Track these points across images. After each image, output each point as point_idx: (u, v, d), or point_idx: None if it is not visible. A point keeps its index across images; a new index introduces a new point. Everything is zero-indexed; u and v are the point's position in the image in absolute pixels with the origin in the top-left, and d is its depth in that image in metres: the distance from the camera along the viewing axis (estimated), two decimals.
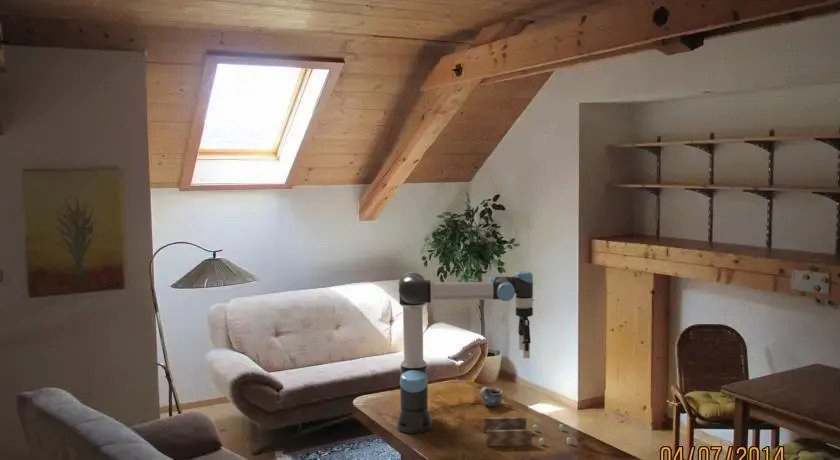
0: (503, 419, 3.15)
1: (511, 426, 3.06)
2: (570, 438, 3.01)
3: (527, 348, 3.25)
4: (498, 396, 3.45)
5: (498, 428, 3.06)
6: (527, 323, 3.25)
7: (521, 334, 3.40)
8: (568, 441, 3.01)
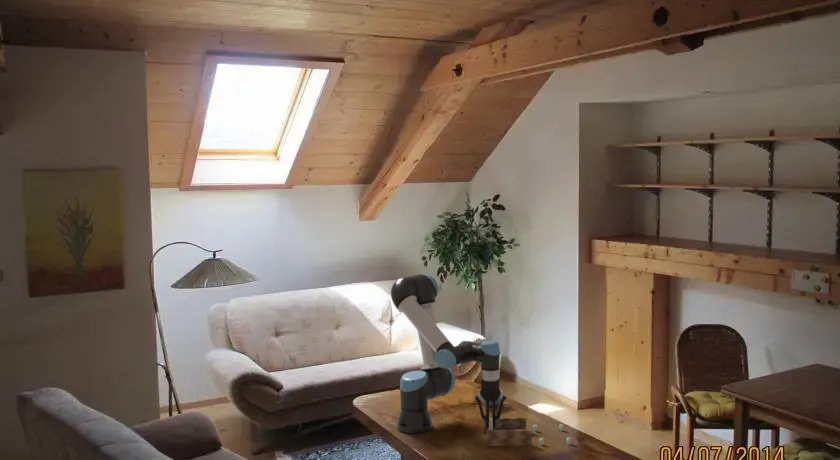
0: (503, 419, 3.15)
1: (511, 425, 3.06)
2: (570, 438, 3.01)
3: (486, 424, 3.08)
4: None
5: (498, 428, 3.06)
6: (476, 399, 3.07)
7: (492, 417, 3.08)
8: (568, 441, 3.01)
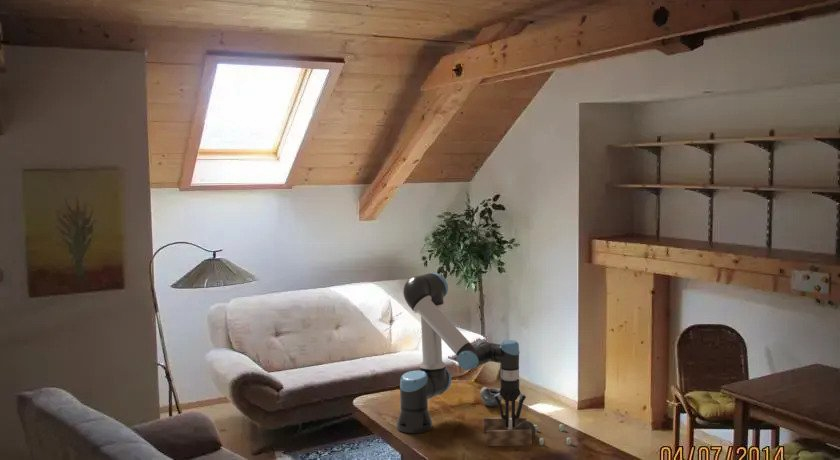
0: (503, 419, 3.15)
1: (531, 425, 3.07)
2: (570, 438, 3.01)
3: (505, 424, 3.08)
4: None
5: (518, 427, 3.06)
6: None
7: None
8: (568, 441, 3.01)
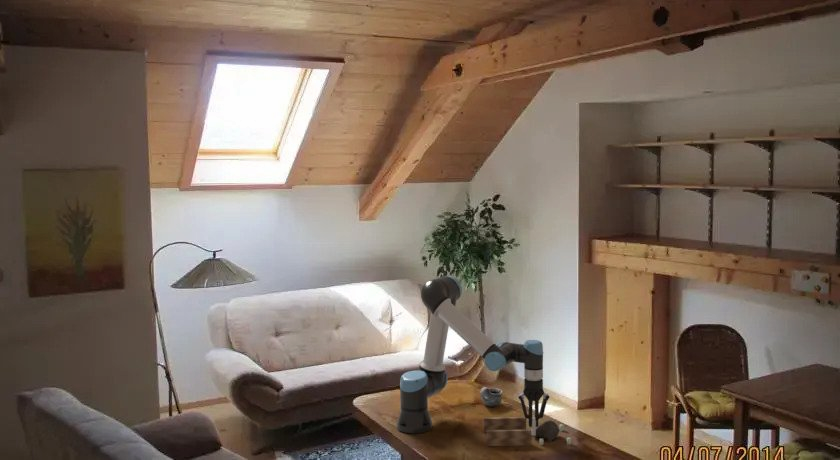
0: (503, 419, 3.15)
1: (554, 425, 3.07)
2: (570, 438, 3.01)
3: (529, 423, 3.08)
4: (498, 396, 3.45)
5: (542, 427, 3.07)
6: (519, 398, 3.07)
7: (535, 416, 3.08)
8: (568, 441, 3.01)
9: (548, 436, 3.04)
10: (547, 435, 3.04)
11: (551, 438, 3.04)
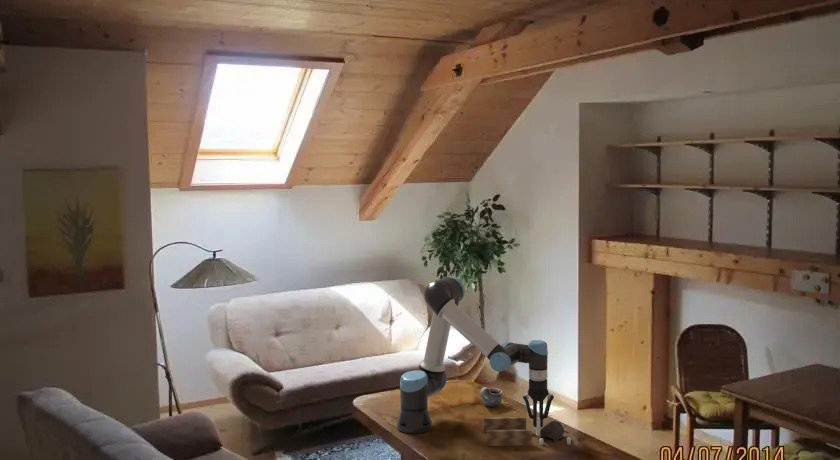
0: (503, 419, 3.15)
1: (559, 425, 3.07)
2: (570, 438, 3.01)
3: (533, 424, 3.08)
4: (498, 396, 3.45)
5: (547, 427, 3.07)
6: (524, 399, 3.07)
7: (539, 416, 3.08)
8: (568, 441, 3.01)
9: (553, 436, 3.04)
10: (552, 435, 3.04)
11: (556, 438, 3.04)
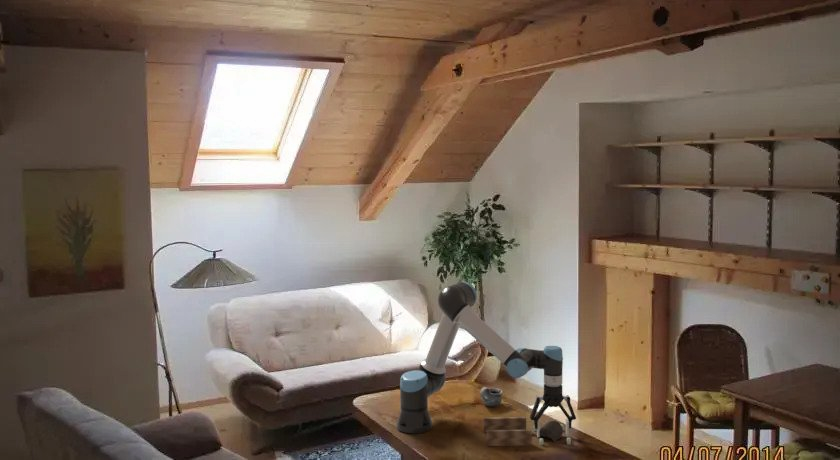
0: (503, 419, 3.15)
1: (558, 425, 3.07)
2: (570, 438, 3.01)
3: (534, 425, 3.08)
4: (498, 396, 3.45)
5: (546, 427, 3.07)
6: (536, 399, 3.07)
7: (568, 418, 3.09)
8: (568, 441, 3.01)
9: (552, 436, 3.04)
10: (551, 435, 3.04)
11: (555, 438, 3.04)
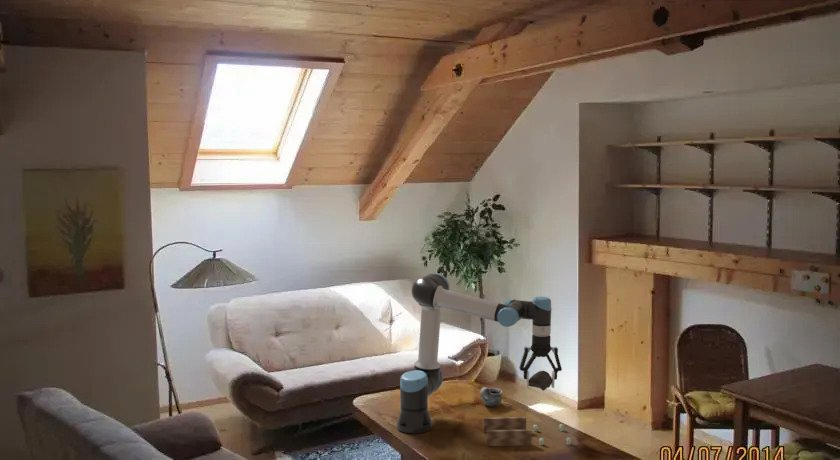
0: (503, 419, 3.15)
1: (547, 375, 3.10)
2: (570, 438, 3.01)
3: None
4: (498, 396, 3.45)
5: (535, 377, 3.10)
6: (524, 350, 3.11)
7: None
8: (568, 441, 3.01)
9: (541, 385, 3.08)
10: (540, 384, 3.08)
11: (544, 387, 3.08)
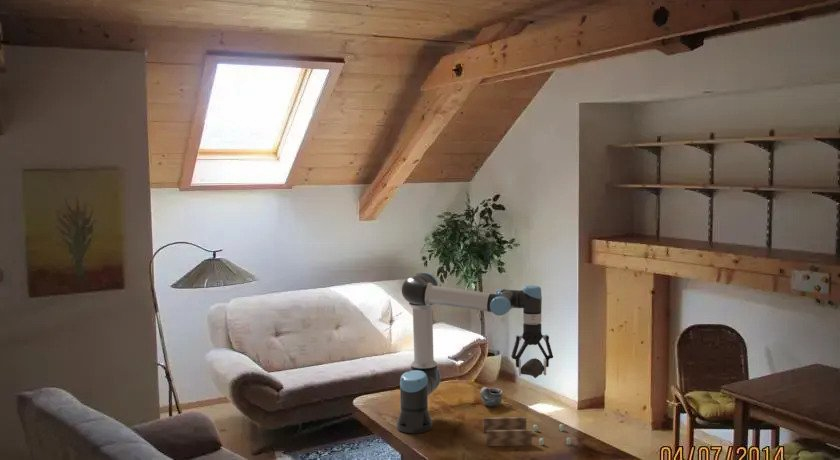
0: (503, 419, 3.15)
1: (539, 362, 3.14)
2: (570, 438, 3.01)
3: (516, 364, 3.16)
4: (498, 396, 3.45)
5: (526, 364, 3.14)
6: (516, 338, 3.15)
7: None
8: (568, 441, 3.01)
9: (533, 373, 3.12)
10: (532, 372, 3.12)
11: (536, 375, 3.12)
